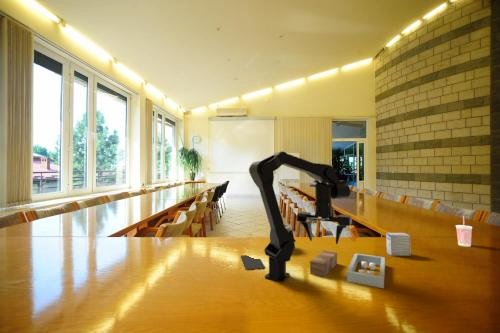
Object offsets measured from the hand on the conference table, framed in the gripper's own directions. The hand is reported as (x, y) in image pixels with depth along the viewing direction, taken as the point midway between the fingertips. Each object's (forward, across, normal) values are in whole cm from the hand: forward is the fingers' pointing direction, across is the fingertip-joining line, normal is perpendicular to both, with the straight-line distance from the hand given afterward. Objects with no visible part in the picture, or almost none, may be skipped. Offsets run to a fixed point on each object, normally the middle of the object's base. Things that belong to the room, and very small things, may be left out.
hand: (323, 242), depth 91 cm
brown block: (+10, 0, 0) cm, 10 cm away
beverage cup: (+9, -52, -62) cm, 82 cm away
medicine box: (+10, -24, -31) cm, 40 cm away
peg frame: (+9, -14, -3) cm, 17 cm away
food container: (+10, +22, -17) cm, 29 cm away
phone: (+10, +26, +7) cm, 29 cm away
